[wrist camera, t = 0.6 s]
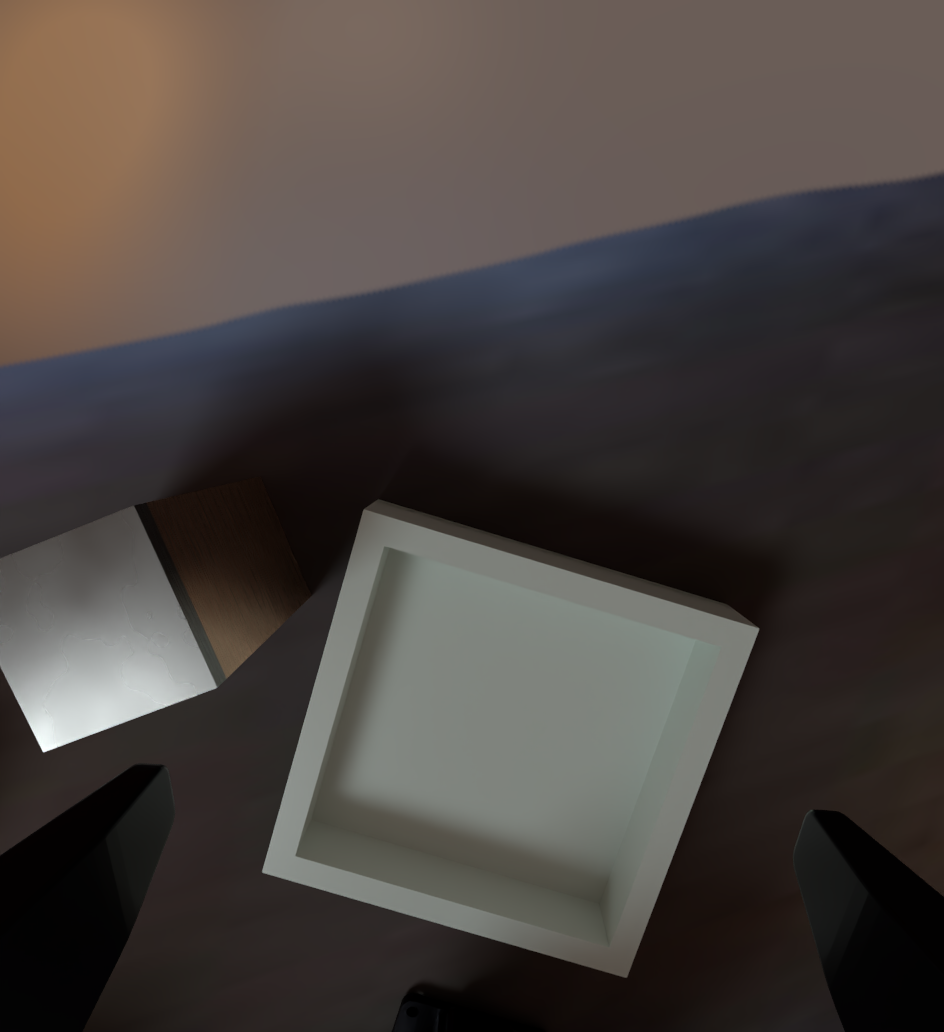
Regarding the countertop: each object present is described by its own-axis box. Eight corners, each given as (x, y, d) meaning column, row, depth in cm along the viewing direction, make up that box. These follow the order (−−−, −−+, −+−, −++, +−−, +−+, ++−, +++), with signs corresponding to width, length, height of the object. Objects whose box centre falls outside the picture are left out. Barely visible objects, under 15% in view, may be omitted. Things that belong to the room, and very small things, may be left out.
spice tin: (311, 595, 26) (217, 687, 17) (196, 639, 26) (43, 752, 17) (260, 476, 25) (134, 505, 16) (142, 522, 25) (-45, 576, 16)
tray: (611, 917, 27) (626, 977, 24) (286, 822, 27) (262, 872, 24) (727, 604, 25) (759, 628, 22) (378, 499, 25) (363, 509, 22)
